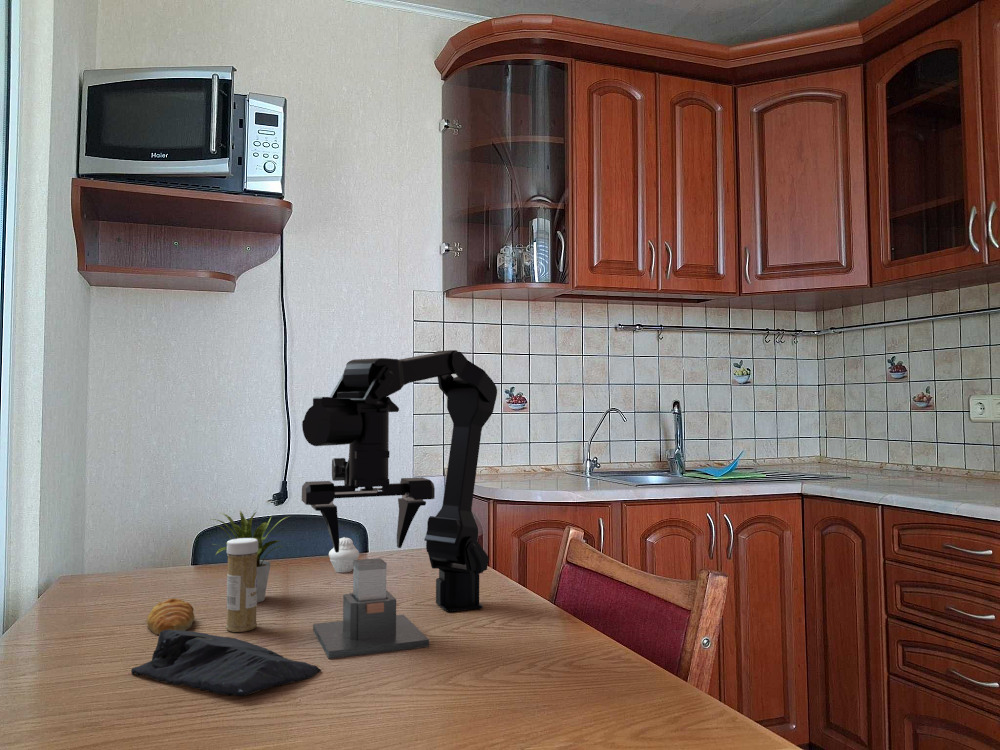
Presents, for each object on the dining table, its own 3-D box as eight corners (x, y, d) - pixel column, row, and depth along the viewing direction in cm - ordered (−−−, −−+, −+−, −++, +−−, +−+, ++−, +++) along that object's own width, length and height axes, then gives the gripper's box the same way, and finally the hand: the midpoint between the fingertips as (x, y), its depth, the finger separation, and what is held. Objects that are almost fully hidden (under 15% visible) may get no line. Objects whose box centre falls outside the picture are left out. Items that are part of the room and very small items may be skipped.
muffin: (355, 574, 153) (356, 539, 153) (325, 574, 153) (325, 539, 154) (361, 568, 159) (362, 534, 160) (332, 567, 159) (332, 534, 160)
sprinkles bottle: (260, 629, 115) (262, 540, 116) (229, 634, 112) (231, 543, 113) (252, 622, 119) (253, 536, 119) (222, 627, 116) (223, 538, 117)
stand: (403, 620, 120) (403, 582, 120) (429, 646, 107) (429, 603, 107) (313, 630, 115) (313, 590, 115) (328, 659, 102) (329, 613, 102)
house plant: (179, 605, 129) (181, 508, 130) (236, 587, 142) (237, 499, 142) (246, 614, 124) (248, 513, 124) (299, 594, 136) (300, 503, 137)
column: (379, 625, 114) (380, 558, 114) (385, 633, 110) (386, 563, 110) (352, 628, 112) (353, 560, 112) (358, 636, 108) (358, 565, 109)
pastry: (197, 634, 113) (197, 609, 113) (147, 641, 110) (147, 614, 110) (192, 619, 122) (192, 594, 122) (145, 624, 119) (146, 599, 119)
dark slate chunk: (227, 716, 84) (228, 672, 85) (121, 675, 97) (122, 637, 97) (331, 675, 97) (331, 637, 97) (225, 644, 109) (226, 611, 110)
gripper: (416, 439, 123) (415, 536, 123) (297, 441, 116) (296, 544, 116) (435, 443, 113) (435, 549, 112) (307, 445, 106) (306, 558, 105)
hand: (368, 549), depth 112 cm, fingers open, 9 cm apart
